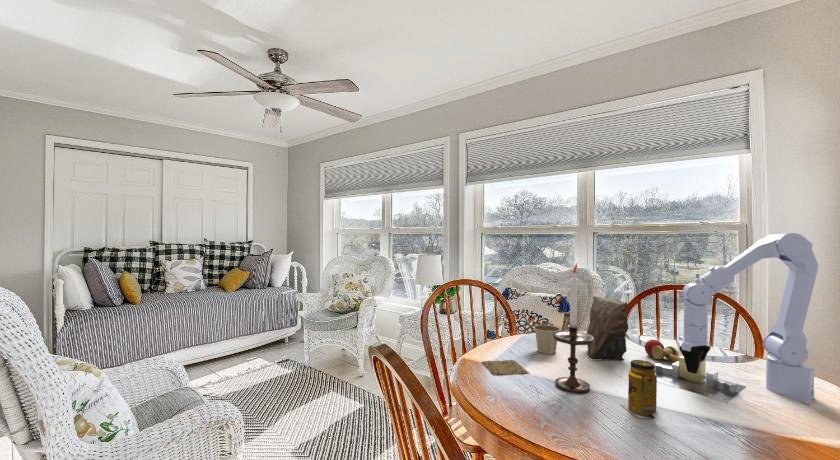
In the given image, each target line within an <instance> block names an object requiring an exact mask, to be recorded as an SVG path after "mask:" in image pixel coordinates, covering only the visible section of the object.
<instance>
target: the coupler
mask: <svg viewBox="0 0 840 460" xmlns="http://www.w3.org/2000/svg"><path fill="white" fill-rule="evenodd" d="M678 357H679V376H681V377H684V378H688V379H692V380H696V381H700V382H702V381H703V380H705V376H706V359H705V360H704V359H700V361H699V365H698V370H697V373H696V374H694V373H691V372H688V371H687V368H686V363H685V360H684V357H683V355H682V354H681V355H680V356H678Z"/></svg>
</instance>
